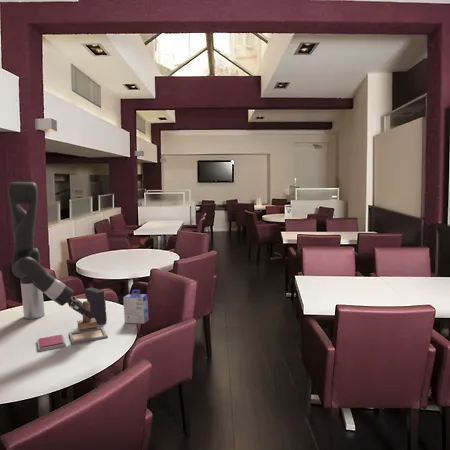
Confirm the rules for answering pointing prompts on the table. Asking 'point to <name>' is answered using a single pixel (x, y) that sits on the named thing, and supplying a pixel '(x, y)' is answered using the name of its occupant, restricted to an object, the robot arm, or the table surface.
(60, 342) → the ink pad
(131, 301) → the ink cartridge box
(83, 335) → the grey flat frame
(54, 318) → the table surface
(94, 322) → the wooden stamp
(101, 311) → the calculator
